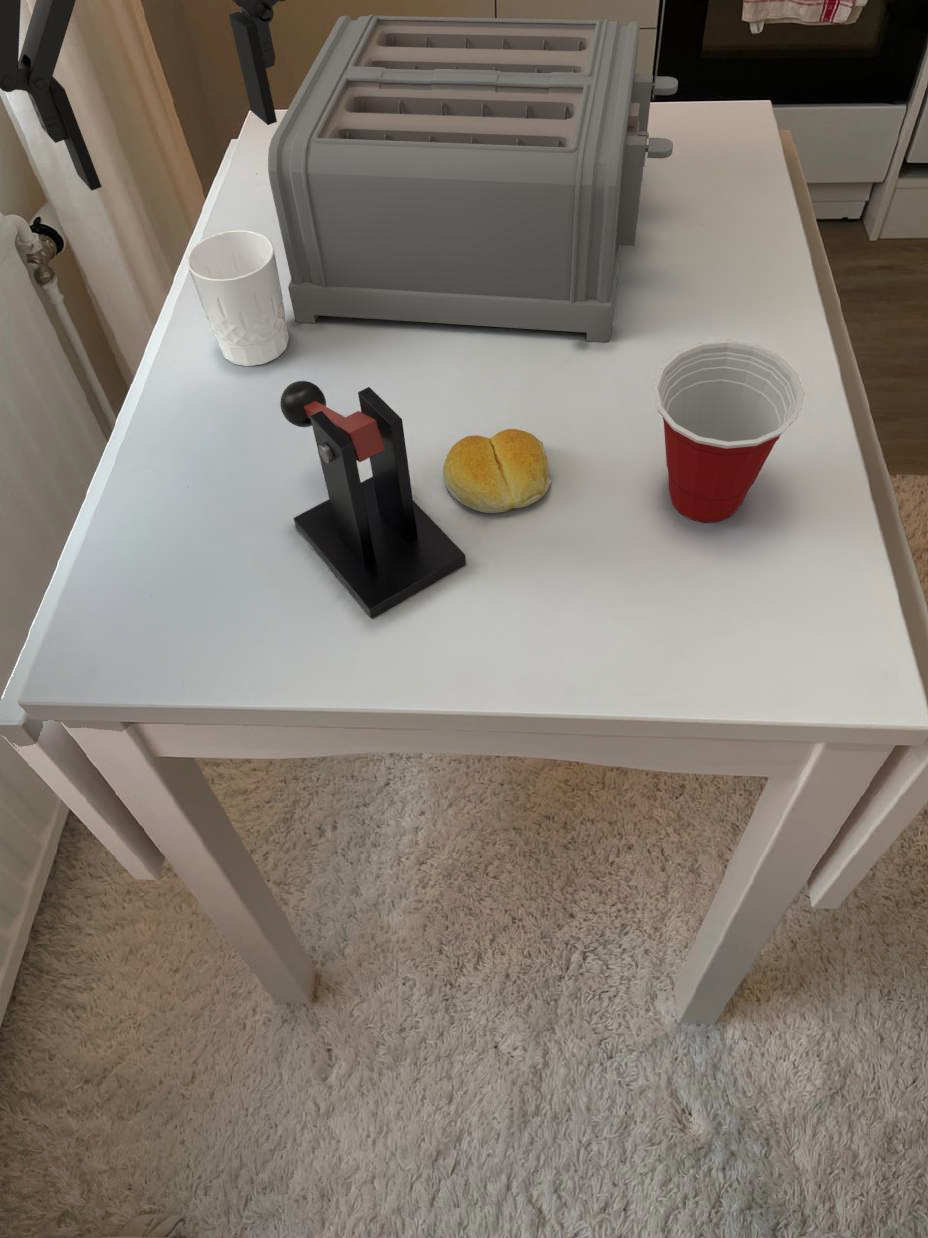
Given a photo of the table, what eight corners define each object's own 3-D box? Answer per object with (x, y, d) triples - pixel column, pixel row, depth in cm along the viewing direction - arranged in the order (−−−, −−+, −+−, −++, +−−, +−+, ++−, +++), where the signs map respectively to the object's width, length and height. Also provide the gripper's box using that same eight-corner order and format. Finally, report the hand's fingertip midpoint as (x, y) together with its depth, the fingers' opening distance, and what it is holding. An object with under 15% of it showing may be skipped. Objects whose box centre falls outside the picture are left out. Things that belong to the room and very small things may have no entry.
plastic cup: (615, 518, 79) (628, 406, 69) (670, 437, 84) (689, 323, 74) (740, 568, 75) (773, 457, 65) (790, 480, 80) (826, 365, 70)
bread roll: (438, 457, 84) (434, 422, 81) (538, 441, 84) (538, 406, 81) (452, 525, 79) (449, 492, 76) (558, 509, 79) (560, 474, 76)
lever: (282, 428, 78) (266, 387, 76) (320, 409, 79) (306, 369, 77) (354, 474, 68) (337, 429, 66) (396, 452, 69) (381, 407, 67)
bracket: (295, 527, 80) (258, 399, 69) (386, 479, 82) (364, 348, 71) (371, 619, 74) (344, 495, 62) (466, 564, 76) (456, 436, 65)
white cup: (311, 339, 94) (291, 248, 86) (252, 381, 91) (225, 290, 83) (257, 310, 98) (234, 220, 90) (198, 350, 94) (168, 259, 86)
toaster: (649, 345, 91) (673, 169, 77) (293, 321, 96) (255, 152, 82) (664, 175, 109) (685, 7, 95) (362, 162, 114) (340, 1, 100)
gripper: (-162, -175, 45) (28, 234, 62) (299, -282, 53) (356, 110, 70) (-195, -208, 49) (-7, 186, 66) (239, -304, 56) (307, 73, 73)
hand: (179, 148), depth 68 cm, fingers open, 13 cm apart
